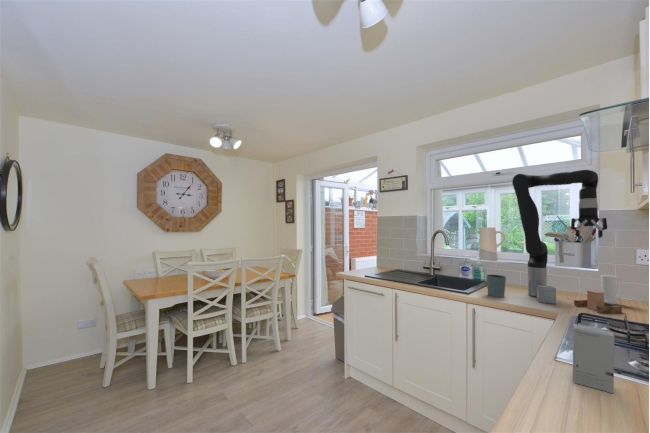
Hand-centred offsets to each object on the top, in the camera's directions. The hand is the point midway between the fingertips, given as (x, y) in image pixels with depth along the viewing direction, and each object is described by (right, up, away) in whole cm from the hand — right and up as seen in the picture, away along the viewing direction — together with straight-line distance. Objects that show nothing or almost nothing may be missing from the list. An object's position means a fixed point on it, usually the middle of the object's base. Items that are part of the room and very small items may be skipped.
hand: (588, 237), depth 156 cm
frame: (-3, -36, -7) cm, 37 cm away
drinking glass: (+15, -36, +4) cm, 40 cm away
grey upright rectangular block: (-69, -34, -77) cm, 109 cm away
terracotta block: (-3, -36, -7) cm, 37 cm away
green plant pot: (-37, -37, +20) cm, 56 cm away
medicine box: (-18, -37, +6) cm, 41 cm away
